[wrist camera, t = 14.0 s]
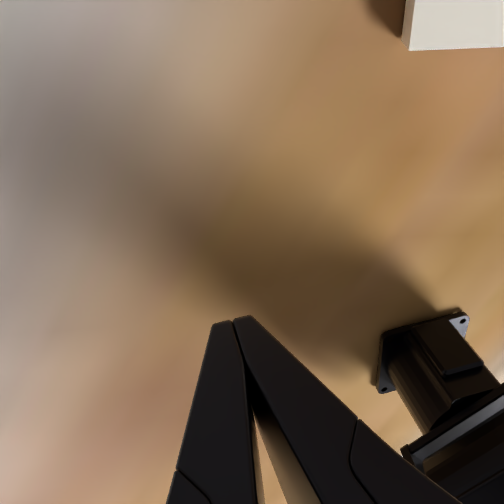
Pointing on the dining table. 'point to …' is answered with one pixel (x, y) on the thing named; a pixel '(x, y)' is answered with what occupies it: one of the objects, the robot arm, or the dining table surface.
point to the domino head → (453, 24)
